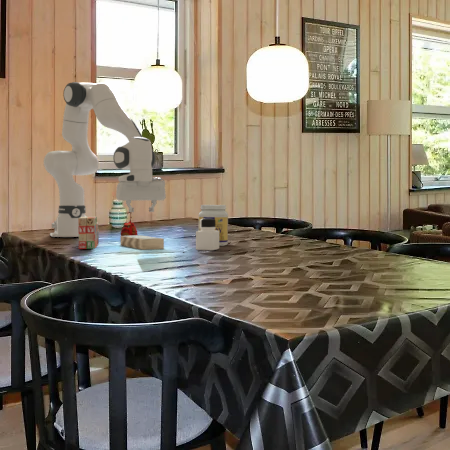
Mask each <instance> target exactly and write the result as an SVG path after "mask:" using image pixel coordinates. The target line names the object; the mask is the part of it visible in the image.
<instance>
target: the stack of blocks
mask: <svg viewBox="0 0 450 450" xmlns="http://www.w3.org/2000/svg"><path fill="white" fill-rule="evenodd" d="M78 224H79V226H78V230H79V237H78V250H93V249H96V248H97V247H98V245H99V241H100V240H99V239H100V238H99V237H100V232H99V231H100V230H99V222H98V220H97V216H87V217H80V218H78Z"/></svg>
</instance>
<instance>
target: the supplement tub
mask: <svg viewBox="0 0 450 450" xmlns="http://www.w3.org/2000/svg"><path fill="white" fill-rule="evenodd" d="M226 209H227V205H226V204H200V210H201V211H200V212H199V213H198V231H201V229H200V220H201V219H204V218H212V219H215V230H217V231H219V247H223V246H227V245H228V243H229V242H228V240H229V239H228V238H229V237H228V236H229V233H228V232H229V214H228V212H227V211H226Z"/></svg>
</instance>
